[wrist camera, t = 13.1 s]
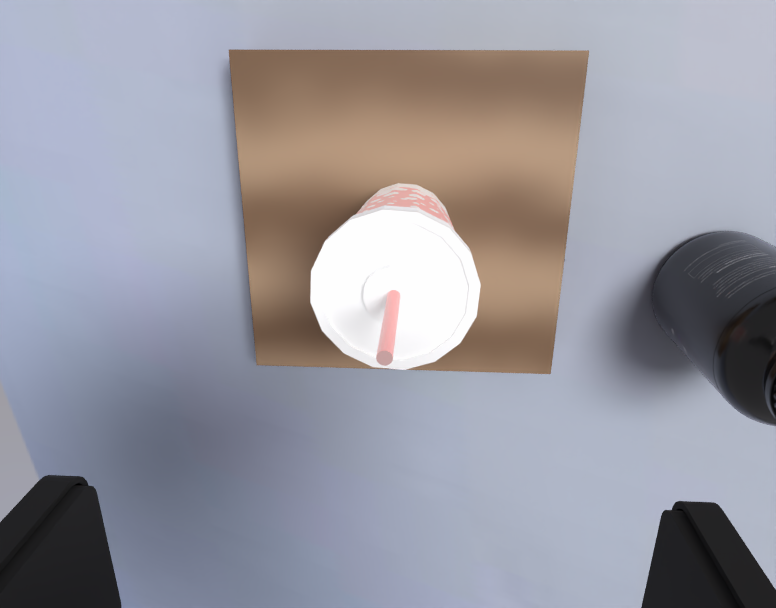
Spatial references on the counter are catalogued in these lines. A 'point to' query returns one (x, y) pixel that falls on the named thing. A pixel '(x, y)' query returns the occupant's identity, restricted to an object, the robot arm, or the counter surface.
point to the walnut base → (410, 182)
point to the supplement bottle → (725, 316)
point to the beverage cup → (396, 281)
